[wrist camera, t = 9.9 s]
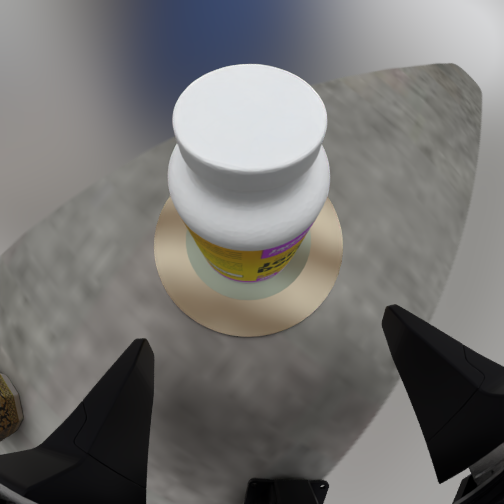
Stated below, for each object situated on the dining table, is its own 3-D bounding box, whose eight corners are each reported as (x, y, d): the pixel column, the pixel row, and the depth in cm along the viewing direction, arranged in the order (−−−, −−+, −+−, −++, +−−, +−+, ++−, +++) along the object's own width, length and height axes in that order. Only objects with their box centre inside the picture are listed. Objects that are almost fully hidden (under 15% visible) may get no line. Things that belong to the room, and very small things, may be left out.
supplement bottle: (256, 305, 19) (270, 266, 6) (183, 245, 20) (99, 133, 7) (313, 231, 20) (389, 109, 8) (242, 179, 21) (236, 33, 9)
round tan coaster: (329, 346, 19) (334, 347, 18) (143, 317, 20) (136, 316, 18) (340, 177, 23) (345, 169, 21) (181, 156, 23) (178, 147, 22)
